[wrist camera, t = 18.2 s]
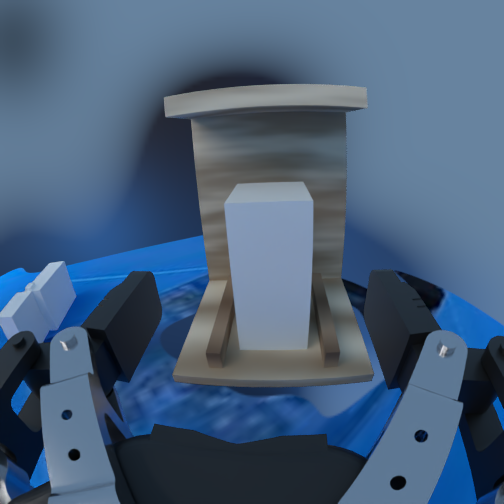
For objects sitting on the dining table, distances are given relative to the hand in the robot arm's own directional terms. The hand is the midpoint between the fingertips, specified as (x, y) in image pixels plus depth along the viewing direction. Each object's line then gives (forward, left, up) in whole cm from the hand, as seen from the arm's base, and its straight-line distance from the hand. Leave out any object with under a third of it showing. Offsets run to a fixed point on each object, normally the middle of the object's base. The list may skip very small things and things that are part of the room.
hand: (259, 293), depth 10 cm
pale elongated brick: (-5, +9, -9) cm, 14 cm away
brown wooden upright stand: (-5, +10, -10) cm, 15 cm away
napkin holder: (-25, -5, -11) cm, 28 cm away
